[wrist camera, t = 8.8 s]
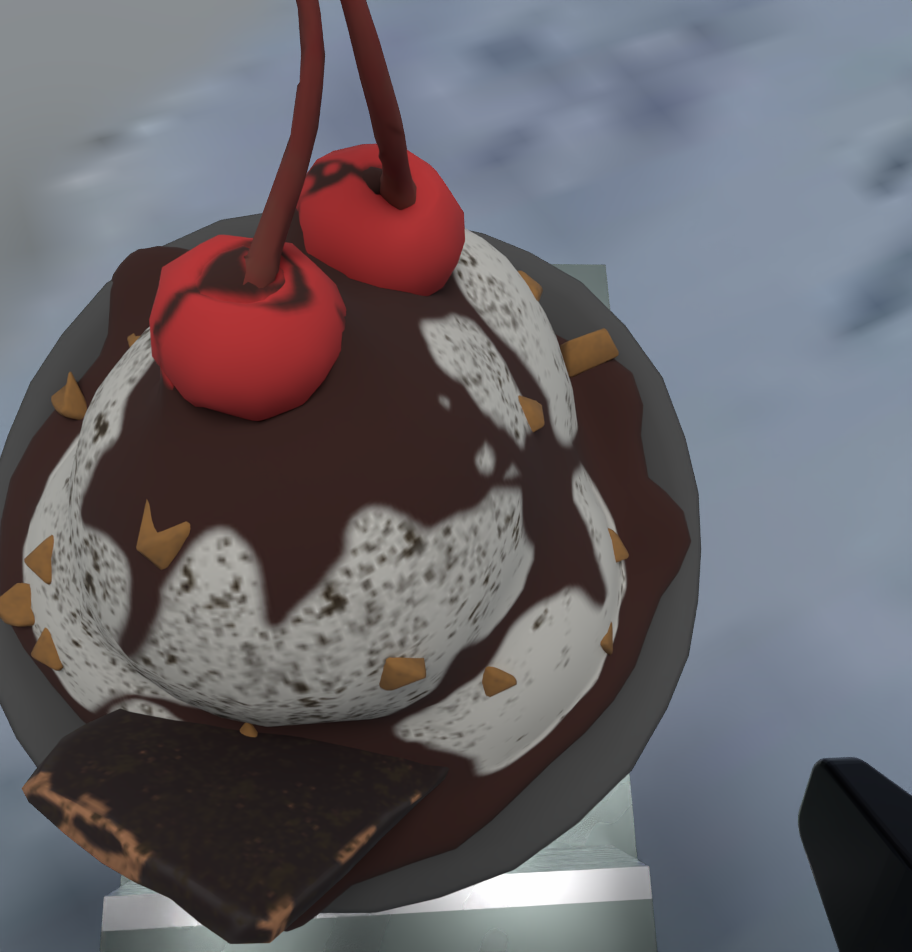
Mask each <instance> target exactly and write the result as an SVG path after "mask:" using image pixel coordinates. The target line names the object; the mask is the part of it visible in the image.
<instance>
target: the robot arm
mask: <svg viewBox="0 0 912 952" xmlns="http://www.w3.org/2000/svg"><path fill="white" fill-rule="evenodd" d="M798 827H799V833H800V837H801V840H802V843H803V846H804V849H805V852H806V855H807V858H808V861H809V864H810V867H811V870H812V873H813V876H814V879H815V882H816V885H817V887H818V890H819V893H820V896H821V899H822V902H823V905H824V908H825V911H826V914H827V917H828V920H829V923H830V926H831V929H832V932H833V935H834V938H835V941H836V943H837V946H838V949H839V952H912V796H911V795H910V794H909V793H907V792H906V791H905V790H903V789H902V788H901V787H899V786H898V785H896V784H895V783H894V782H892V781H891V780H890V779H888V778H887V777H885V776H884V775H883V774H881V773H880V772H879V771H877V770H876V769H875V768H873V767H872V766H870V765H869V764H868V763H866V762H864V761H863V760H861V759H858V758H854V757H841V758H823V759H820V760H819V761H818V762H816V763H815V764H814V766H813V769H812V772H811V775H810V778H809V781H808V784H807V787H806V791H805V794H804V797H803V800H802V803H801V806H800V809H799V814H798Z"/></svg>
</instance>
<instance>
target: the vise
mask: <svg viewBox="0 0 912 952" xmlns="http://www.w3.org/2000/svg"><path fill="white" fill-rule="evenodd" d="M551 265H553V266H555V267H556V268H558V269H560V270H562V271H563V272H565V273H567V274H569V275H570V276H572V277H574V278H576V279H577V280H579V281H581V282H582V283H583V284H584V285H585V286H586V287H587V288H588V289H589V290H590V291H591V292H592V293H593V294H594V295H595V296H596V297H597V298H598V299H599V300H600V301H601V302H602V303H603V304H604V305H605V306H606V307H607V308H608V309H609V310H610V304H609V294H608V285H607V275H606V265H571V264H551ZM100 952H657V943H656V932H655V922H654V912H653V901H652V891H651V881H650V870H649V866H648V865H646V864H644V863H643V862H641V861H639V860H637V851H636V840H635V830H634V819H633V808H632V797H631V787H630V776H629V774H628V775H627V776H626V777H625V778H624V779H622V780H621V781H620V782H619V783H618V784H617V785H616V786H615V787H614V788H613V789H612V790H611V791H610V792H609V793H608V794H607V795H606V796H605V797H604V798H603V799H602V800H601V801H600V802H599V803H598V804H597V805H596V806H595V807H594V808H593V809H592V810H591V811H590V812H589V813H588V814H587V815H586V816H585V817H584V818H583V819H582V820H581V821H580V822H579V823H578V824H577V825H575V826H574V827H572V828H571V829H570V830H568V831H567V832H566V833H564V834H563V835H561V836H560V837H559V838H557V839H556V840H555V841H553V842H552V843H550V844H549V845H548V846H546V847H545V848H544V849H542V850H541V851H539V852H538V853H537V854H535V855H534V856H533V857H531V858H530V859H529V860H527V861H526V862H524V863H523V864H522V865H520V866H519V867H518V868H516V869H515V870H513V871H510V872H507V873H505V874H502V875H499V876H497V877H494V878H492V879H489V880H486V881H484V882H481V883H478V884H476V885H473V886H470V887H468V888H465V889H462V890H460V891H457V892H454V893H452V894H449V895H446V896H444V897H441V898H438V899H433V900H429V901H425V902H421V903H416V904H412V905H408V906H403V907H399V908H395V909H390V910H386V911H382V912H377V913H319V914H318V915H317V916H316V917H314V918H313V919H312V920H310V921H309V922H308V923H306V924H305V925H303V926H301V927H298V928H296V929H293V930H291V931H288V932H285V931H283V932H282V933H281V934H280V935H279V936H277V937H276V938H275V939H274V940H273V941H272V942H271V943H256V944H229V943H228V942H226V941H225V940H223V939H222V938H221V937H219V936H218V935H216V934H215V933H213V932H212V931H210V930H209V929H208V928H206V927H205V926H203V925H202V924H200V923H199V922H198V921H196V920H195V919H194V918H193V917H192V916H190V915H189V914H188V913H187V912H186V911H185V910H183V909H182V908H181V907H180V906H179V905H177V904H176V903H175V902H174V901H173V900H172V899H170V898H167V897H165V896H163V895H161V894H159V893H157V892H154V891H152V890H150V889H148V888H146V887H144V886H141V885H139V884H137V883H135V882H133V881H131V880H130V879H128V878H126V877H125V876H123V875H121V884H120V887H119V888H117V889H116V890H114V891H113V892H111V893H109V894H108V895H106V896H104V904H103V917H102V930H101V942H100Z"/></svg>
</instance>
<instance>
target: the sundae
mask: <svg viewBox="0 0 912 952" xmlns="http://www.w3.org/2000/svg"><path fill="white" fill-rule="evenodd" d="M340 1H341V4H342V8H343V12H344V16H345V19H346V23H347V27H348V31H349V35H350V39H351V43H352V48H353V52H354V56H355V60H356V64H357V68H358V72H359V76H360V80H361V84H362V88H363V91H364V95H365V99H366V102H367V106H368V110H369V114H370V118H371V123H372V128H373V132H374V137H375V140H376V143H377V144H362V145H357V146H353V147H349V148H345V149H340V150H336V151H333V152H331V153H329V154H327V155H325V156H323V157H321V158H319V159H317V160H316V162H315V163H314V164H313V166H312V167H311V169H310V170H309V171H308V173H307V170H308V166H309V162H310V158H311V154H312V150H313V146H314V142H315V138H316V134H317V130H318V125H319V116H320V107H321V99H322V90H323V77H324V63H325V51H324V41H323V32H322V22H321V13H320V7H319V1H318V0H296V3H297V7H298V17H299V30H300V44H301V67H300V83H299V84H298V85H297V92H296V99H295V106H294V114H293V121H292V128H291V135H290V138H289V141H288V144H287V147H286V149H285V152H284V155H283V158H282V161H281V164H280V167H279V169H278V172H277V175H276V178H275V180H274V183H273V186H272V189H271V192H270V194H269V197H268V200H267V203H266V205H265V208H264V211H263V213H261V214H255V215H249V216H243V217H236V218H230V219H224V220H220V221H217V222H215V223H213V224H211V225H208V226H206V227H204V228H202V229H200V230H197V231H195V232H193V233H191V234H188V235H186V236H184V237H182V238H179V239H177V240H175V241H173V242H171V243H168V244H166V245H164V246H156V247H151V248H146V249H138V250H137V251H135V252H133V253H131V254H130V255H129V256H128V257H127V258H126V259H125V260H124V261H123V262H122V263H121V264H120V265H119V267H118V268H117V270H116V271H115V273H114V274H113V277H112V280H111V281H109V282H108V283H106V284H105V285H104V286H103V288H102V289H101V290H100V291H99V292H98V293H97V295H96V296H95V297H94V298H93V299H92V300H91V301H90V303H89V304H88V305H87V306H86V307H85V308H84V310H83V311H82V312H81V313H80V314H79V315H78V316H77V318H76V319H75V320H74V321H73V322H72V323H71V325H70V326H69V327H68V328H67V329H66V330H65V331H64V333H63V334H62V335H61V337H60V338H59V340H58V341H57V343H56V344H55V346H54V347H53V349H52V350H51V352H50V353H49V355H48V356H47V358H46V360H45V361H44V363H43V364H42V366H41V367H40V369H39V370H38V372H37V373H36V375H35V376H34V378H33V379H32V381H31V382H30V385H29V387H28V389H27V392H26V394H25V396H24V399H23V401H22V403H21V406H20V408H19V411H18V413H17V415H16V418H15V420H14V422H13V425H12V427H11V429H10V432H9V434H8V437H7V440H6V443H5V446H4V449H3V452H2V455H1V458H0V704H1V706H2V709H3V711H4V713H5V715H6V717H7V719H8V721H9V723H10V726H11V728H12V730H13V732H14V734H15V736H16V738H17V740H18V741H19V742H20V744H21V745H22V747H23V748H24V750H25V751H26V752H27V754H28V755H29V757H30V758H31V759H32V761H33V762H34V764H35V765H36V767H37V769H36V770H35V771H34V773H33V774H32V775H31V777H30V778H29V779H28V781H27V782H26V784H25V785H24V786H23V788H22V790H23V792H24V794H25V796H26V798H27V799H28V801H29V803H31V804H32V805H33V806H34V807H35V808H36V809H37V810H38V811H40V812H41V813H42V814H43V815H44V816H45V817H46V818H47V819H49V820H50V821H51V822H52V823H53V824H54V825H55V826H56V827H58V828H59V829H60V830H61V831H62V832H63V833H64V834H65V835H67V836H68V837H69V838H71V839H72V840H73V841H74V842H76V843H77V844H78V845H79V846H81V847H82V848H83V849H85V850H86V851H87V852H88V853H90V854H91V855H92V856H94V857H95V858H96V859H97V860H99V861H100V862H101V863H103V864H104V865H106V866H108V867H109V868H111V869H113V870H115V871H116V872H118V873H120V874H121V875H123V876H125V877H126V878H128V879H130V880H131V881H133V882H135V883H137V884H139V885H141V886H144V887H146V888H148V889H150V890H152V891H154V892H157V893H159V894H161V895H163V896H165V897H167V898H170V899H172V900H173V901H174V902H175V903H176V904H177V905H179V906H180V907H181V908H182V909H183V910H185V911H186V912H187V913H188V914H189V915H190V916H192V917H193V918H194V919H195V920H196V921H198V922H199V923H200V924H202V925H203V926H205V927H206V928H208V929H209V930H210V931H212V932H213V933H215V934H216V935H218V936H219V937H221V938H222V939H223V940H225V941H226V942H228V943H229V944H256V943H271V942H272V941H273V940H274V939H275V938H276V937H277V936H279V935H280V934H281V933H282V932H283V931H285V932H288V931H291V930H293V929H296V928H298V927H301V926H303V925H305V924H306V923H308V922H309V921H310V920H312V919H313V918H314V917H316V916H317V915H318V914H319V913H377V912H382V911H386V910H390V909H395V908H399V907H403V906H408V905H412V904H416V903H421V902H425V901H429V900H433V899H438V898H441V897H444V896H446V895H449V894H452V893H454V892H457V891H460V890H462V889H465V888H468V887H470V886H473V885H476V884H478V883H481V882H484V881H486V880H489V879H492V878H494V877H497V876H499V875H502V874H505V873H507V872H510V871H513V870H515V869H516V868H518V867H519V866H520V865H522V864H523V863H524V862H526V861H527V860H529V859H530V858H531V857H533V856H534V855H535V854H537V853H538V852H539V851H541V850H542V849H544V848H545V847H546V846H548V845H549V844H550V843H552V842H553V841H555V840H556V839H557V838H559V837H560V836H561V835H563V834H564V833H566V832H567V831H568V830H570V829H571V828H572V827H574V826H575V825H577V824H578V823H579V822H580V821H581V820H582V819H583V818H584V817H585V816H586V815H587V814H588V813H589V812H590V811H591V810H592V809H593V808H594V807H595V806H596V805H597V804H598V803H599V802H600V801H601V800H602V799H603V798H604V797H605V796H606V795H607V794H608V793H609V792H610V791H611V790H612V789H613V788H614V787H615V786H616V785H617V784H618V783H619V782H620V781H621V780H622V779H624V778H625V777H626V776H627V775H628V774H629V773H630V772H631V771H632V769H633V767H634V766H635V764H636V762H637V760H638V759H639V757H640V755H641V753H642V752H643V750H644V748H645V746H646V745H647V743H648V741H649V739H650V738H651V736H652V734H653V732H654V731H655V729H656V727H657V725H658V724H659V722H660V720H661V718H662V717H663V715H664V713H665V711H666V710H667V708H668V705H669V703H670V700H671V698H672V695H673V693H674V690H675V688H676V686H677V683H678V681H679V678H680V676H681V673H682V671H683V668H684V666H685V663H686V661H687V658H688V656H689V650H690V645H691V639H692V633H693V627H694V622H695V616H696V610H697V604H698V594H699V577H700V560H701V537H700V516H699V494H698V489H697V485H696V481H695V476H694V472H693V468H692V464H691V460H690V455H689V451H688V447H687V443H686V439H685V436H684V433H683V431H682V428H681V425H680V423H679V420H678V417H677V415H676V412H675V409H674V407H673V404H672V401H671V399H670V396H669V393H668V391H667V388H666V385H665V383H664V380H663V377H662V376H661V375H660V373H659V372H658V370H657V369H656V368H655V366H654V365H653V363H652V362H651V361H650V359H649V358H648V356H647V355H646V354H645V352H644V351H643V350H642V348H641V347H640V345H639V344H638V343H637V341H636V340H635V338H634V337H633V336H632V334H631V333H630V331H629V330H628V329H627V327H626V326H625V325H624V324H623V323H622V322H621V321H620V320H619V319H618V318H617V317H616V316H615V315H614V314H613V313H612V312H611V311H610V310H609V309H608V308H607V307H606V306H605V305H604V304H603V303H602V302H601V301H600V300H599V299H598V298H597V297H596V296H595V295H594V294H593V293H592V292H591V291H590V290H589V289H588V288H587V287H586V286H585V285H584V284H583V283H582V282H581V281H579V280H577V279H576V278H574V277H572V276H570V275H569V274H567V273H565V272H563V271H562V270H560V269H558V268H556V267H555V266H553V265H551V264H549V263H548V262H546V261H544V260H542V259H540V258H539V257H537V256H535V255H533V254H532V253H530V252H528V251H525V250H523V249H520V248H518V247H515V246H513V245H510V244H508V243H506V242H503V241H501V240H498V239H496V238H493V237H491V236H488V235H486V234H483V233H479V232H474V231H470V230H467V229H465V227H464V212H463V211H462V209H461V207H460V206H459V204H458V203H457V201H456V200H455V198H454V196H453V195H452V193H451V192H450V190H449V189H448V187H447V186H446V184H445V183H444V181H443V180H442V178H441V177H440V176H439V174H438V173H437V171H436V170H435V169H434V168H433V167H432V166H431V165H430V164H428V163H427V162H425V161H424V160H422V159H420V158H419V157H417V156H416V155H414V154H413V153H411V152H410V151H408V150H407V147H406V140H405V134H404V129H403V124H402V119H401V115H400V111H399V107H398V104H397V100H396V97H395V93H394V90H393V86H392V83H391V79H390V76H389V72H388V69H387V65H386V62H385V58H384V55H383V52H382V48H381V45H380V41H379V38H378V35H377V32H376V29H375V26H374V23H373V20H372V17H371V14H370V11H369V8H368V5H367V2H366V0H340Z"/></svg>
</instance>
